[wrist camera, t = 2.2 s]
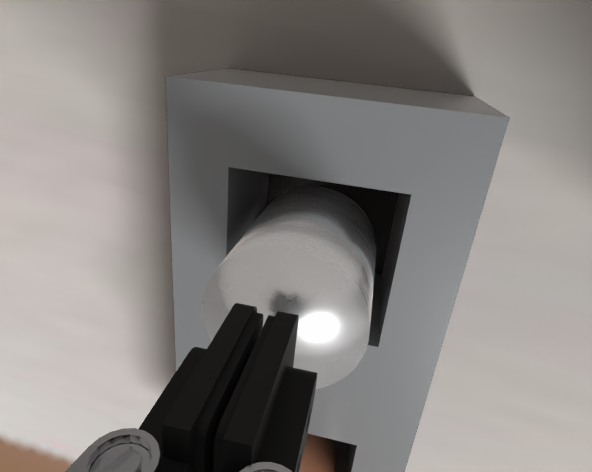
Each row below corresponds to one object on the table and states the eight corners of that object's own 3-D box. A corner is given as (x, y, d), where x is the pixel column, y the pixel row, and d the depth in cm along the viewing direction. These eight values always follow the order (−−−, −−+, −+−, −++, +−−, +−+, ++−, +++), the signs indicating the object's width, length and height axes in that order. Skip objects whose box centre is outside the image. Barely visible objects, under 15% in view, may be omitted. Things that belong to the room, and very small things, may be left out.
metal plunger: (387, 196, 16) (384, 264, 11) (365, 308, 18) (355, 406, 13) (258, 177, 17) (201, 232, 12) (252, 286, 19) (202, 371, 14)
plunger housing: (474, 96, 18) (509, 117, 13) (377, 474, 28) (373, 575, 23) (227, 68, 20) (165, 76, 14) (219, 435, 30) (181, 520, 24)
